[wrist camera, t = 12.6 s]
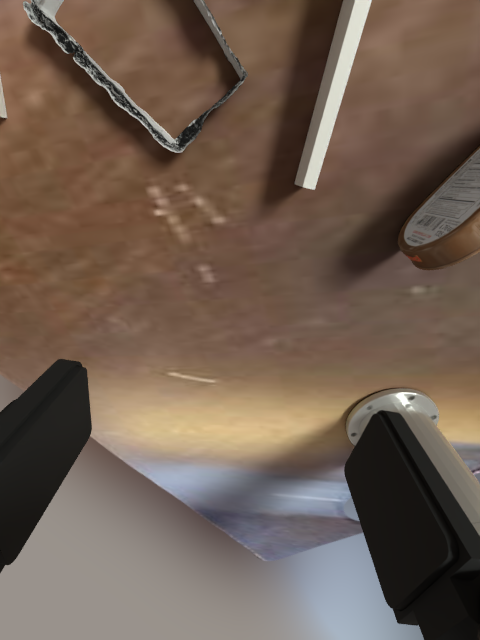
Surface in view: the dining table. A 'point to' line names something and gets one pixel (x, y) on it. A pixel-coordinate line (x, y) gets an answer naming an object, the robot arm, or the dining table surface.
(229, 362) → the dining table surface
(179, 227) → the dining table surface
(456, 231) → the tin
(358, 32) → the box
